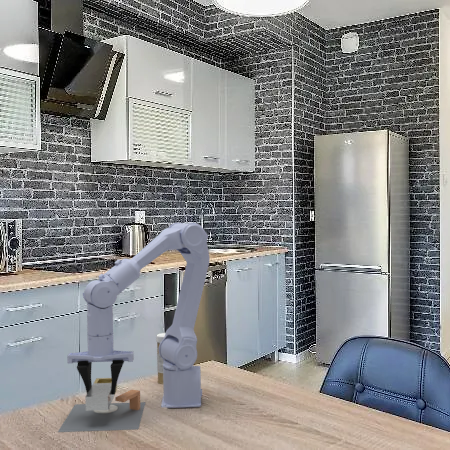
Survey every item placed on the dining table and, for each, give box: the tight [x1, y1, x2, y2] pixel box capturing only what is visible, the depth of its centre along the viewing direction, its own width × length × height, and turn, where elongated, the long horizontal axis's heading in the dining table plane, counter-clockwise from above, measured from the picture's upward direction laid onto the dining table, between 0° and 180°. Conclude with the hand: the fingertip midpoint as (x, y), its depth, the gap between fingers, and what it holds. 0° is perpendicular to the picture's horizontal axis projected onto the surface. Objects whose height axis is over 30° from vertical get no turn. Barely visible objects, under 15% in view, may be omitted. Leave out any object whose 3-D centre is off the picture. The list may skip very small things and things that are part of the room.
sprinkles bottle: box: [155, 332, 166, 385], centre depth 151 cm, size 5×5×13 cm
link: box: [84, 377, 118, 411], centre depth 126 cm, size 13×5×3 cm, turn 3°
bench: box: [57, 401, 146, 433], centre depth 126 cm, size 17×17×3 cm
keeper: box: [114, 389, 141, 410], centre depth 128 cm, size 6×2×5 cm, turn 153°
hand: (101, 393), depth 125 cm, fingers closed on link, 5 cm apart
